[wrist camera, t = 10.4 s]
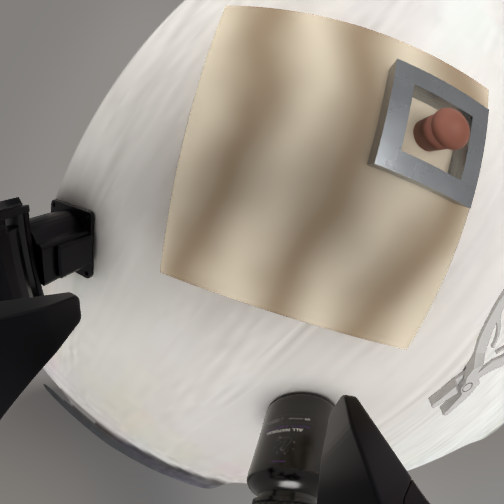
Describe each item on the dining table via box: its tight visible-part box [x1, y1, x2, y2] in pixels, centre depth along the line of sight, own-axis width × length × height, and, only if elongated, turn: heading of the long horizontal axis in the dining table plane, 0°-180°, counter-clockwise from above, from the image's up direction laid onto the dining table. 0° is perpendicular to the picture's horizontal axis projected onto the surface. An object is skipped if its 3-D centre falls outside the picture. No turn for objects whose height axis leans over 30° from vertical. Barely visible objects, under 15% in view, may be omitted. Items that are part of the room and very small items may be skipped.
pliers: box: [429, 289, 504, 415], centre depth 16 cm, size 10×2×15 cm
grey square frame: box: [367, 59, 489, 208], centre depth 12 cm, size 6×6×2 cm
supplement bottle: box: [247, 394, 334, 504], centre depth 17 cm, size 7×7×12 cm
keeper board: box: [160, 6, 489, 350], centre depth 13 cm, size 19×20×6 cm
